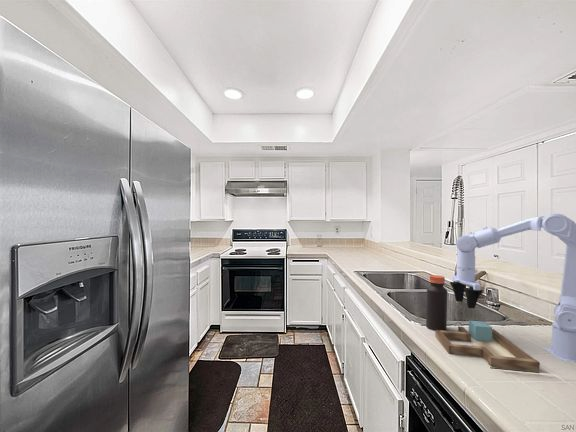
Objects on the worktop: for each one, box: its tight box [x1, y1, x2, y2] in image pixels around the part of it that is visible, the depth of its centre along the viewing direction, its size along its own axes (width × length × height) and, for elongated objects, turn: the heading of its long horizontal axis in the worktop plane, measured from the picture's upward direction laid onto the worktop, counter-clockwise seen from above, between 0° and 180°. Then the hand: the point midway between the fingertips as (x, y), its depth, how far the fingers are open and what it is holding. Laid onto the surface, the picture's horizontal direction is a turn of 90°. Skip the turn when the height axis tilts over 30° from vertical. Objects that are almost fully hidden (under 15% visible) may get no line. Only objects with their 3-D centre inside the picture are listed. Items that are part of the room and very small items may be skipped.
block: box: [468, 320, 493, 342], centre depth 98 cm, size 5×5×5 cm
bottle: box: [425, 274, 448, 332], centre depth 106 cm, size 7×7×20 cm
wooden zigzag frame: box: [434, 326, 541, 374], centre depth 90 cm, size 21×22×3 cm
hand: (465, 304), depth 105 cm, fingers open, 7 cm apart
